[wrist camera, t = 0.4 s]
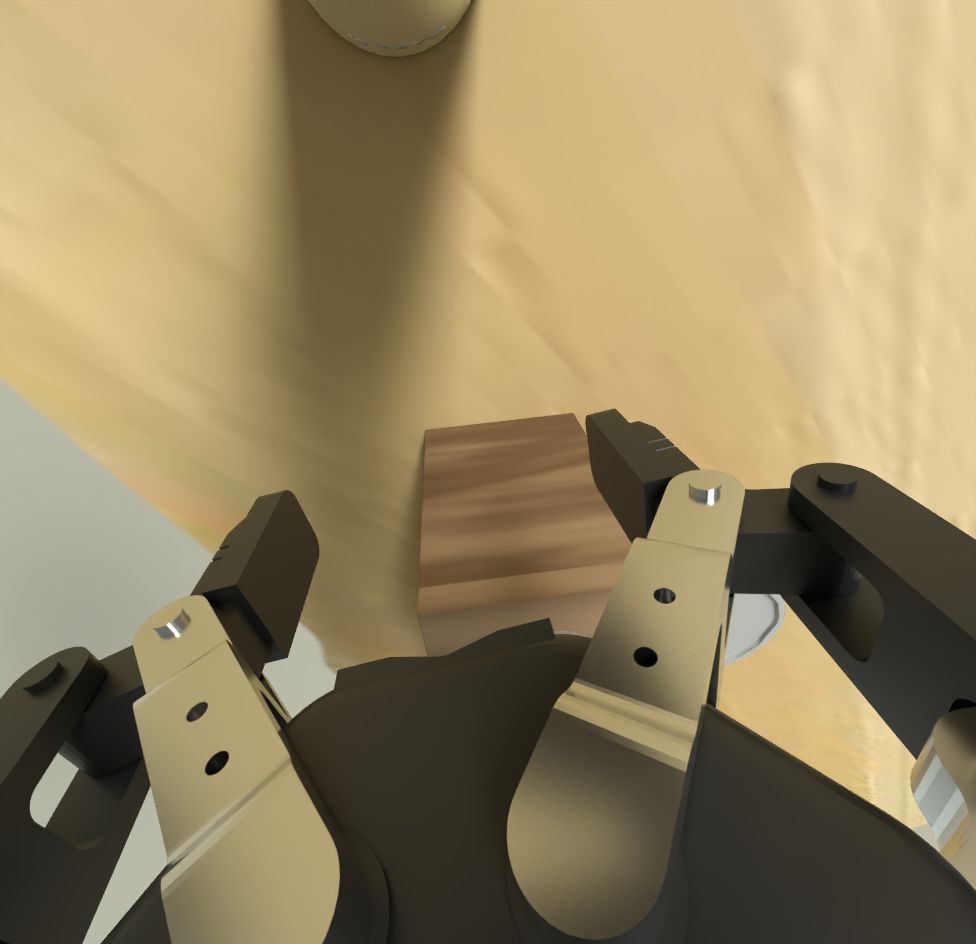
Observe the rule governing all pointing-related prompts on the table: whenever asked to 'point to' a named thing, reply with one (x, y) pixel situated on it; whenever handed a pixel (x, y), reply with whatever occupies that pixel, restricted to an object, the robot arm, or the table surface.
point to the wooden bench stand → (513, 532)
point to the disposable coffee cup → (753, 623)
